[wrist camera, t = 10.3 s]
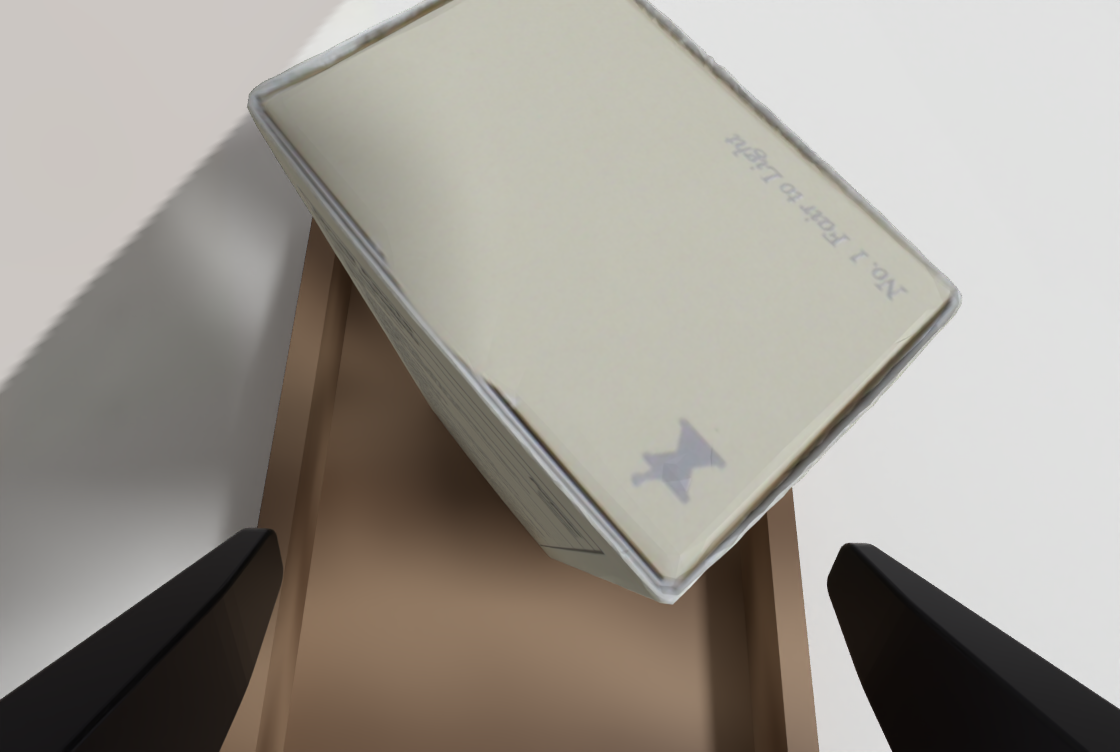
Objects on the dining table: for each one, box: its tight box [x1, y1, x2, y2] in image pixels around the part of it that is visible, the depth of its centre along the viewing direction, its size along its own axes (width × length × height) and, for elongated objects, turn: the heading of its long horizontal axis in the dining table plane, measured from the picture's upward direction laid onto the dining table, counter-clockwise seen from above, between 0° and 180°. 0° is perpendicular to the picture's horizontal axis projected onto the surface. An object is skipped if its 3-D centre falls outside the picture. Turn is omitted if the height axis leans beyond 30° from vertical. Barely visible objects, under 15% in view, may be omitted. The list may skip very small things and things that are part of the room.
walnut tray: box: [220, 217, 819, 752], centre depth 15 cm, size 20×14×2 cm
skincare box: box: [247, 0, 962, 605], centre depth 11 cm, size 6×4×12 cm
